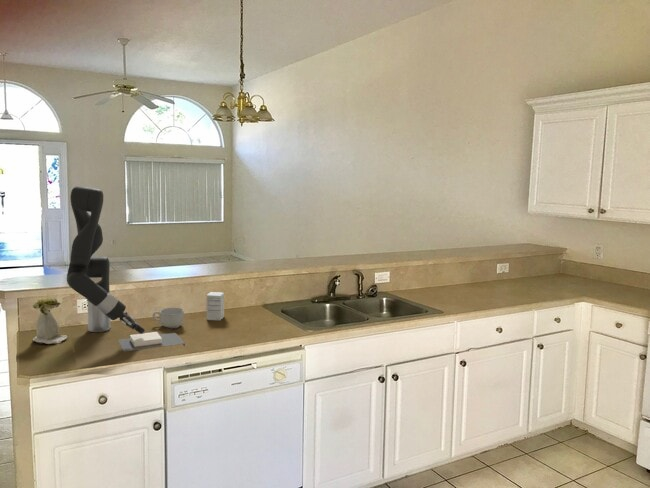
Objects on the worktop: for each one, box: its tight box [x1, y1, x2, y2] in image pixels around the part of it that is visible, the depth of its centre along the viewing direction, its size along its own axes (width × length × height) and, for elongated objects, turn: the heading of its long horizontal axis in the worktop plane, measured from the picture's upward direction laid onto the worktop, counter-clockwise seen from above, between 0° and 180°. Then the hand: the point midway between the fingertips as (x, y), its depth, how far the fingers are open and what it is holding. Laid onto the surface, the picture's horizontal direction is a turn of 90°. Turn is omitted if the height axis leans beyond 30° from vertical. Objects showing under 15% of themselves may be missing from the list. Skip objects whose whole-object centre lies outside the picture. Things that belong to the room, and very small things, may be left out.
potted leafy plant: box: [31, 297, 68, 345], centre depth 212 cm, size 12×13×18 cm
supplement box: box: [206, 291, 225, 321], centre depth 254 cm, size 7×7×13 cm
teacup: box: [152, 306, 185, 330], centre depth 238 cm, size 14×11×8 cm
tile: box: [129, 331, 162, 347], centre depth 213 cm, size 10×2×11 cm
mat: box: [117, 332, 185, 353], centre depth 214 cm, size 16×24×1 cm, turn 120°
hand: (142, 332), depth 212 cm, fingers closed
